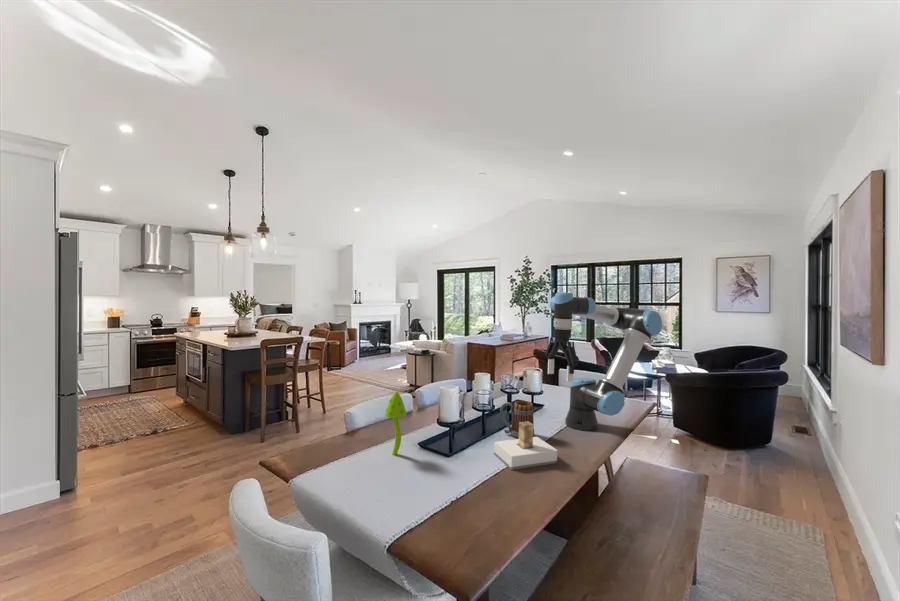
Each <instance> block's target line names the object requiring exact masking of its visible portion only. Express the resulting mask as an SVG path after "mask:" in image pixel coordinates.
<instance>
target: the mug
mask: <svg viewBox="0 0 900 601" xmlns="http://www.w3.org/2000/svg"><path fill="white" fill-rule="evenodd" d="M505 406H510V411H508V412H509V414H510V415H511V414H512V419H511V424H510V423H509V422H508V421H507V420H506V419H505V417H504V414H503V409H504V408H505ZM499 414H500V418H501V420H502V422H503V423H504V424H505V425H506V427H507V428H503V430H504V433H505V434H507V435H508V434H510V436H511V437H512V438H514V439H518V438H519V422H526V421H528V422H530V423H532V424H533V437H535V429H534V426H535V425H534V404H533V402H531V401H528V400H516V401H514V404H512V403H511V402H508V401H506V402H505V401H504V402H503V403H502V404H501V406H500V409H499Z"/></svg>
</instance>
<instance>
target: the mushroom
mask: <svg viewBox="0 0 900 601" xmlns="http://www.w3.org/2000/svg"><path fill="white" fill-rule="evenodd" d="M384 416H385V417H387V418H390V419H391V418H392V421H393V426H394V432H395V434H394V436H395V439H394V446H393V450H392V453H391V455H392V456H397V455H398V452H399V450H400V447H401V445H402V444H401V442H402V431H401V426H400V422H399V418H404V417H406V416H407V409H406V407H405V404H404V401H403V399H402V397H401V395H400V393H399V392H398V391H395V392H393V394H392V395H391V396H390V398H389V401H388V403H387V405H386V408H385V411H384Z"/></svg>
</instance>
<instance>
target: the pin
mask: <svg viewBox="0 0 900 601" xmlns="http://www.w3.org/2000/svg"><path fill="white" fill-rule="evenodd" d="M518 446H519V447H521V448H522V449H530V448H532V446H533V424H532V423H530V422H528V421H526V422H519V438H518Z"/></svg>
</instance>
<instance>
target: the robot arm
mask: <svg viewBox="0 0 900 601" xmlns="http://www.w3.org/2000/svg"><path fill="white" fill-rule="evenodd" d="M549 307H550V309H551V311H553V327H554V328H553V330H552V337H550V338H549V342H548V345H547V348H546V351H545V353H544V357H546V358H547V375H554V374H555V356H556V354H557V353H558V352H559V351H562V353H563V354H564V356H565V359H566V361H567V366H566V382H570V387H569V390H570V391H569V392H570V395H569V409H568V412H567V415H566V417H565V419H564V421H565V423H564V424H565V425H566V426H567V427H569V428H571V429H574V430H579V431H586V432H587V431H594V430H597V429H598V428H599V427H598V426H599V425H598V424H599V423H598V420H597V415H596V412H598V413H600V414H602V415H607V416H611V417H612V416H615V415H617V414H619V413H620V412H621V411H622V410H623V409H624V407H625V400H626V398H625V395H624V393H625V391H624V390H625V389H624V384H625V382H626V380H627V378H628V376H629V375H630V373H631V370H632V368H633V366H634V364H635V362H636V360H637V359H638V357H639V355H640V352H641V351H642V349H643V346H644V344H645V343H648V342H650V341H651V338H652V337H656V336H657V335H659V334H661V331H662V328H663V321H662V320H663V319H662V317H661V315H660V313H659V312H658V311H655V310H651V309H648V308H647V309H642V308H634V307H633V308H632V307H616V306H609V307H606V306H603V305H600V304H596V301H595V300H594V298H592V297H586V296H585V297H583V296H581V297H579V296H574V293H572V292H561V291H560V292H556V293H555V294H554V295H553V296H552V297H551V298H550V300H549ZM573 316H577V317H581V318H585V319H589V320H594V321H596V322H597V321H598V322H602V323H604V324H605V325H607V326H609V327H614V328H616V329H619V330H622V331H624V332H625V334H626V335H625V336H624V339H623V340H622V343H621V344H620V346H619V348H618V350H617V352H616V354H615V356H614V358H613V360H612V362H611V363H610V366H609V368H608V370H607V371H606V374H605V376H604V377H603V378H600V379H599V380H598V381H597V380H596V379H595V378H588V377H586V378H585V377H581V378H580V377H578V378H577V377H576V378H574V374H575V366H579V362H578V356H577V352H576V350H575V341H570V338H572V324H573ZM595 411H596V412H595Z"/></svg>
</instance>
